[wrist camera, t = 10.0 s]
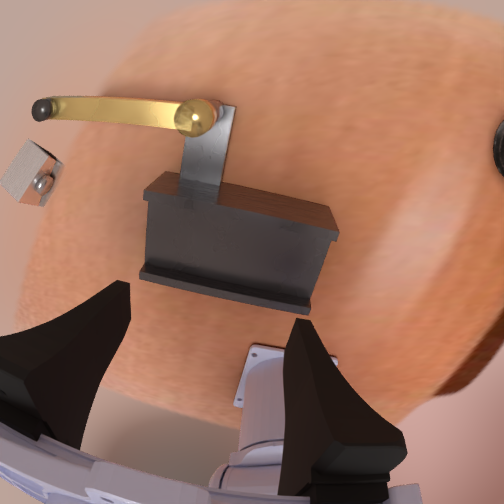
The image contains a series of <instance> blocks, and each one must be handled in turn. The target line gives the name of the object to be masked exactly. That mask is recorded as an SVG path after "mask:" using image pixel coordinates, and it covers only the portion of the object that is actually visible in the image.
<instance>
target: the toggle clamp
mask: <svg viewBox="0 0 504 504" xmlns="http://www.w3.org/2000/svg"><path fill="white" fill-rule="evenodd" d="M209 102H210V103H211V104H212V105H213V106H214V108H215V110H216V113H217V119H216V122H215V125H214V126H213V128H212V129H211V130H209V131H208V132H206V133H205V134H203V135H201V136H199V137H194V138H192V137H187V136H186V138H185V145H184V151H183V158H182V164H181V171H180V174H177V173H172V172H164V173H163V174H162V175H161V176H160V177H158V178H157V179H156V180H155V181H154V182H153V183H151V184H150V185H149V186H148V187H147V188H146V189H144V194H143V200H146V201H149V202H148V215H147V229H146V247H145V264H144V265H143V267H142V268H141V270H140V272H139V279H141V280H145V281H149V282H153V283H157V284H161V285H166V286H170V287H174V288H178V289H183V290H187V291H191V292H196V293H200V294H205V295H209V296H214V297H218V298H223V299H228V300H232V301H237V302H242V303H247V304H251V305H256V306H261V307H266V308H271V309H276V310H282V311H287V312H292V313H297V314H303V315H309V312H310V310H311V304H310V297H311V295H312V292H313V289H314V287H315V284H316V281H317V279H318V276H319V273H320V271H321V268H322V265H323V262H324V259H325V257H326V254H327V251H328V248H329V245H330V243H331V240H332V241H337V238H338V235H339V229H338V227H337V225H336V222H335V220H334V217H333V215H332V213H331V210H330V208H329V207H328V206H324V205H320V204H316V203H312V202H308V201H304V200H300V199H296V198H292V197H287V196H283V195H279V194H274V193H270V192H265V191H261V190H256V189H252V188H247V187H243V186H238V185H233V184H228V183H223V182H222V176H223V171H224V166H225V161H226V155H227V150H228V145H229V140H230V135H231V130H232V125H233V120H234V116H235V111H236V107H235V106H230V105H224V104H223V103H222V102H220V101H218V100H209Z"/></svg>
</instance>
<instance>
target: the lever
mask: <svg viewBox="0 0 504 504" xmlns="http://www.w3.org/2000/svg"><path fill="white" fill-rule="evenodd" d="M32 116H33V118H34V119H35V120H36V121H38V122H40V121H44V120H48V119H56V120H82V121H99V122H113V123H125V124H135V125H145V126H155V127H163V128H171V129H177V130H178V131H179V132H180V133H181V134H182V135H184V136H187V137H192V138H194V137H199V136H201V135H203V134H205V133H206V132H208V131H209V130H211V129H212V128H213V126H214V125H215V122H216V119H217V113H216V110H215V108H214V106H213V105H212V104H211V103H210V102H209V101H207V100H204V99H192V100H187V101H185V102H174V101H164V100H153V99H141V98H126V97H104V96H52V97H46V98H42V99H40V100H37V101H36V102H35V103H34V105H33V107H32Z"/></svg>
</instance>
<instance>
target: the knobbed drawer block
mask: <svg viewBox="0 0 504 504" xmlns="http://www.w3.org/2000/svg"><path fill="white" fill-rule="evenodd" d="M63 165H64V164H63V163H62V162H61V161H60V160H59V159H58V158H56V157H55V156H54V155H53V154H52V153H50V152H49V151H47V150H45V149H44V148H42V147H41V146H39V145H38V144H36V143H35V142H33V141H31V140H30V139H28V140H27V141H26V142H25V144H24V145H23V147H22V148H21V150H20V151H19V153H18V154H17V156H16V157H15V158H14V160H13V161H12V163H11V164H10V166H9V167H8V169H7V171H6V172H5V174H4V175H3V177H2V179H1V180H0V184H1V185H2V187H3V188H5V190H6V191H7V192H8V193H9V194H10V195H11V196H12V197H13V198H15V200H16V201H18V202H19V203H25V204H30V205H36V206H41V207H44V206H45V205H46V203H47V202H48V200H49V198H50V196H51V194H52V192H53V189H54V187H55V185H56V181H57V178H58V175H59V173H60V171H61V169H62V167H63Z"/></svg>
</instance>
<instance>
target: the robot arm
mask: <svg viewBox="0 0 504 504" xmlns="http://www.w3.org/2000/svg"><path fill="white" fill-rule="evenodd" d="M130 321H131V305H130V283H127V282H123V281H119V280H116V281H115V282H113V283H112V284H110V285H109V286H107V287H106V288H104V289H103V290H101V291H100V292H99V293H97V294H96V295H94V296H93V297H91V298H90V299H88V300H87V301H85V302H83V303H82V304H80V305H78V306H77V307H75V308H73V309H72V310H70V311H68V312H67V313H65V314H63V315H61V316H59V317H57V318H55V319H53V320H51V321H49V322H46V323H44V324H41V325H39V326H36V327H33V328H31V329H28V330H25V331H22V332H18V333H14V334H11V335H7V336H1V337H0V477H1V478H3V479H4V480H6V481H7V482H9V483H10V484H12V485H13V486H15V487H17V488H18V489H20V490H22V491H23V492H25V493H26V494H28V495H30V496H32V497H33V498H35V499H37V500H39V501H41V502H42V503H44V504H423V503H422V497H421V492H420V487H419V484H417V483H415V484H407V485H399V486H394V487H391V488H388V487H387V482H389V481H390V474H389V472H390V471H391V470H393V469H394V468H395V467H396V466H397V465H399V464H400V463H401V462H402V461H403V460H404V459H405V457H406V455H407V449H406V444H405V439H404V436H403V433H402V432H401V431H400V430H399V429H398V428H396V427H395V426H393V425H392V424H391V423H389V422H388V421H386V420H385V419H384V418H383V417H381V416H380V415H379V414H378V413H377V412H375V411H374V410H373V409H372V408H371V407H370V406H369V405H368V404H367V403H366V402H365V401H364V400H363V399H362V398H361V397H360V396H359V395H358V394H357V393H356V392H355V390H354V389H353V388H352V387H351V386H350V384H349V383H348V382H347V381H346V380H345V378H344V377H343V376H342V374H341V373H340V371H339V370H338V368H337V367H336V366H337V364H338V359H337V358H335V357H330V355H329V354H328V352H327V350H326V349H325V347H324V345H323V343H322V341H321V339H320V338H319V336H318V334H317V332H316V330H315V328H314V326H313V324H312V322H311V321H310V320H305V319H300V318H296V321H295V323H294V326H293V329H292V332H291V334H290V337H289V340H288V342H287V345H286V348H285V350H284V349H279V348H273V347H267V346H262V345H252V346H251V347H250V350H249V353H248V356H247V360H246V363H245V366H244V369H243V373H242V376H241V379H240V382H239V386H238V389H237V392H236V395H235V399H234V402H233V405H234V406H236V407H240V408H243V409H242V419H241V428H240V437H239V447H238V452H231V453H230V460H229V464H223V465H221V466H220V467H219V468H218V469H217V470H216V472H215V473H214V474H213V476H212V477H211V479H210V482H209V486H208V487H206V486H200V485H195V484H190V483H186V482H183V481H178V480H174V479H169V478H166V477H161V476H158V475H154V474H150V473H146V472H143V471H139V470H136V469H133V468H129V467H126V466H123V465H120V464H117V463H113V462H110V461H107V460H104V459H101V458H98V457H95V456H93V455H90V454H88V453H85V452H82V451H80V447H81V443H82V438H83V434H84V430H85V427H86V423H87V419H88V416H89V413H90V410H91V407H92V404H93V401H94V398H95V395H96V392H97V390H98V387H99V384H100V382H101V380H102V378H103V375H104V374H105V372H106V370H107V368H108V366H109V364H110V362H111V360H112V359H113V357H114V355H115V353H116V351H117V349H118V348H119V346H120V344H121V342H122V340H123V338H124V336H125V333H126V331H127V328H128V326H129V323H130ZM253 353H256V354H253Z"/></svg>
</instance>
